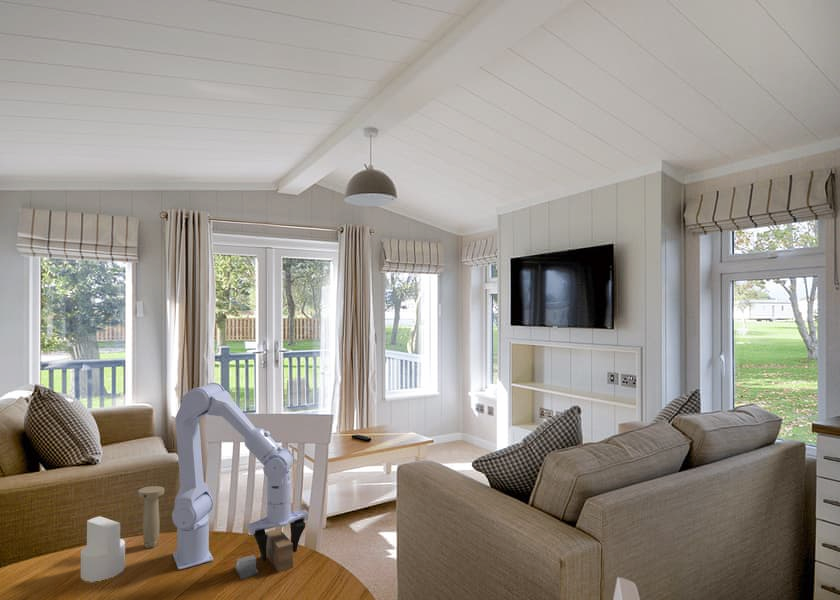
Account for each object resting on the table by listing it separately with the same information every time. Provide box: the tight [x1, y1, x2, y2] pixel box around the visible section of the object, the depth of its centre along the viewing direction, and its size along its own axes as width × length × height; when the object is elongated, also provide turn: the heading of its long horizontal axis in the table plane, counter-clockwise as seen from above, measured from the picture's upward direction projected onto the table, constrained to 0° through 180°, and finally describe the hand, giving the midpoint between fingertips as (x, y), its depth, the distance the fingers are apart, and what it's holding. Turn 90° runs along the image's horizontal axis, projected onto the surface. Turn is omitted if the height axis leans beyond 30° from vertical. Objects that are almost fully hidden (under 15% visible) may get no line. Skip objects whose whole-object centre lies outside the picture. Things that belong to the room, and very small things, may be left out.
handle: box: [137, 485, 165, 549], centre depth 132 cm, size 5×6×15 cm
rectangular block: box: [265, 528, 294, 573], centre depth 123 cm, size 10×4×6 cm, turn 34°
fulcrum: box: [234, 554, 259, 580], centre depth 119 cm, size 6×4×3 cm, turn 34°
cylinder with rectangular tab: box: [80, 516, 126, 583], centre depth 119 cm, size 9×9×12 cm
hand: (279, 554), depth 123 cm, fingers open, 7 cm apart
